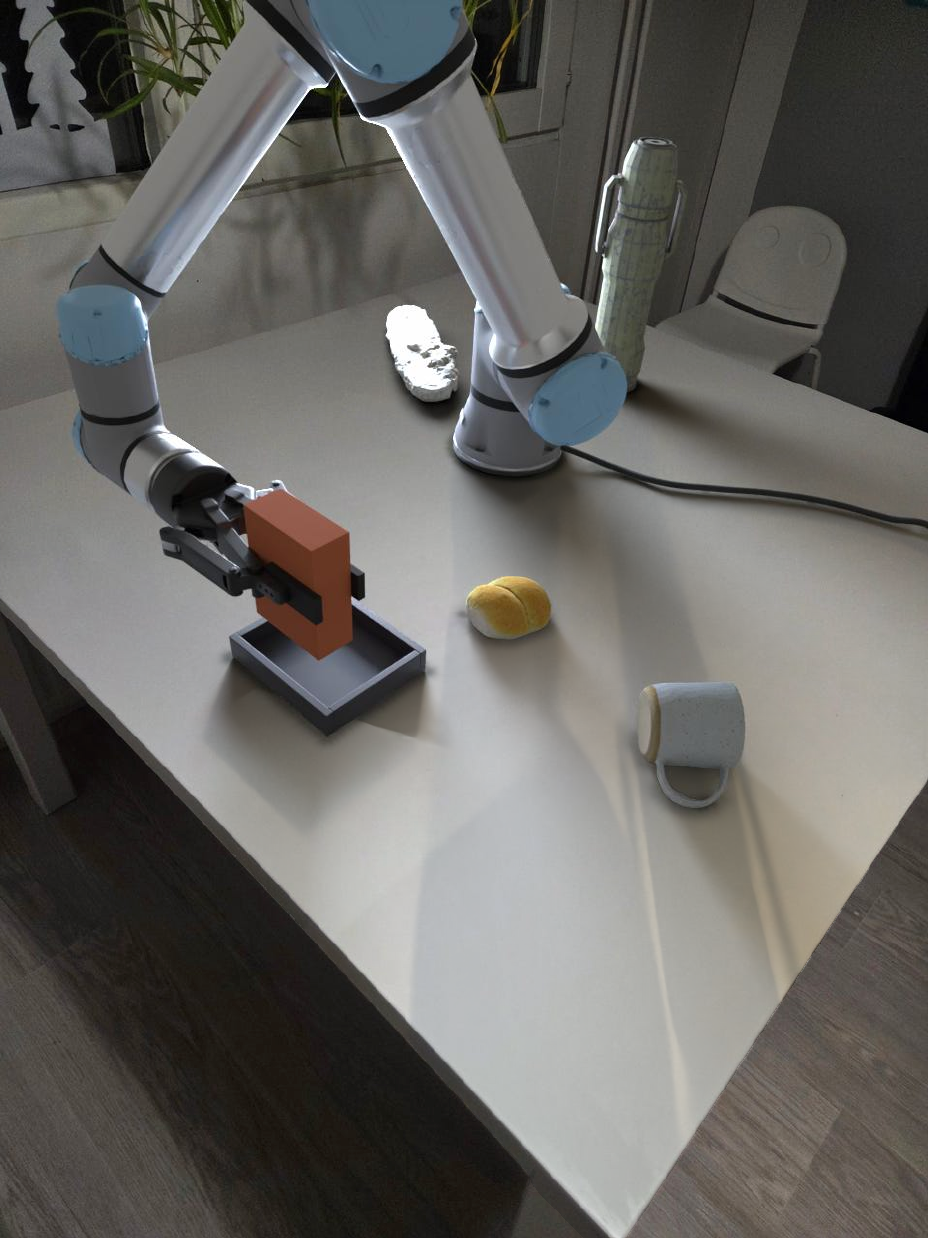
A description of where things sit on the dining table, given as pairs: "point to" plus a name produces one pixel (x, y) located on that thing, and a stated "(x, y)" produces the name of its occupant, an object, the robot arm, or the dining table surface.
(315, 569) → the reddish orange block
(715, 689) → the ceramic mug
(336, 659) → the tray
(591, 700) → the dining table surface
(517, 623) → the bread roll
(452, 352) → the elongated rock
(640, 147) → the thermos
